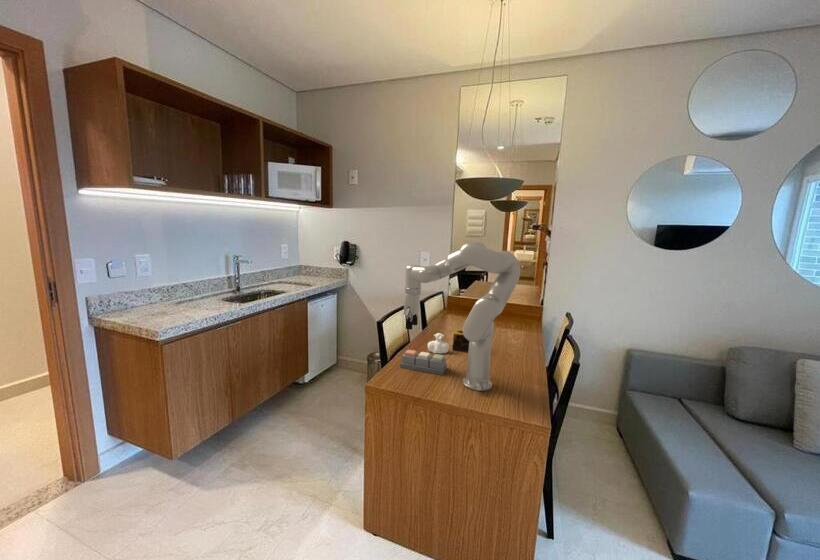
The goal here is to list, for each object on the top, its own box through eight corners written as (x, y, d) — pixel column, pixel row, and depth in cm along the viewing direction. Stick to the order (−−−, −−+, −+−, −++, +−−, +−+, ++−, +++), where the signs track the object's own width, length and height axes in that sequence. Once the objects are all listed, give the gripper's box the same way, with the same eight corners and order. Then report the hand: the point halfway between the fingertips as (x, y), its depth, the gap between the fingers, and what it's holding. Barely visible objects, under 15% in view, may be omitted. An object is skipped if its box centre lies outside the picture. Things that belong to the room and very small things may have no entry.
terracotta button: (416, 356, 166) (416, 350, 165) (413, 360, 161) (413, 353, 161) (407, 355, 167) (408, 349, 167) (404, 358, 163) (404, 352, 162)
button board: (446, 367, 163) (447, 357, 162) (442, 375, 155) (442, 363, 154) (406, 360, 170) (407, 350, 169) (400, 367, 162) (400, 356, 161)
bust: (448, 356, 184) (450, 337, 189) (448, 352, 177) (450, 332, 183) (427, 354, 186) (429, 335, 191) (426, 350, 179) (428, 330, 185)
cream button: (429, 359, 163) (429, 353, 163) (426, 362, 159) (427, 356, 159) (421, 357, 165) (421, 351, 164) (418, 360, 161) (418, 354, 160)
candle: (470, 352, 185) (471, 335, 183) (452, 350, 186) (453, 333, 185) (470, 346, 194) (471, 330, 193) (453, 344, 196) (454, 328, 195)
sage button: (443, 361, 161) (443, 355, 161) (441, 364, 157) (441, 358, 156) (434, 360, 162) (435, 353, 162) (432, 363, 158) (432, 357, 158)
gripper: (411, 287, 168) (410, 321, 171) (398, 293, 152) (397, 330, 155) (425, 288, 166) (424, 323, 169) (414, 294, 150) (412, 333, 153)
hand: (411, 326), depth 162 cm, fingers open, 6 cm apart
